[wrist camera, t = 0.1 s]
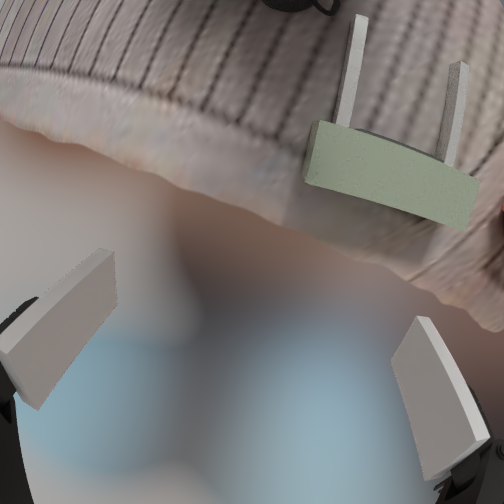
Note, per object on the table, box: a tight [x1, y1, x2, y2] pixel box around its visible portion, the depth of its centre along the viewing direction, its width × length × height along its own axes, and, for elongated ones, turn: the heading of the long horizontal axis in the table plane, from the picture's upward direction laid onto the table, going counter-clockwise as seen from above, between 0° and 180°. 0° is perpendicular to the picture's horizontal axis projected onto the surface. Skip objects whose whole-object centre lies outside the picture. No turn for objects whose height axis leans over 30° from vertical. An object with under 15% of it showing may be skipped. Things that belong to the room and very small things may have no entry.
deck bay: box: [301, 14, 480, 232], centre depth 28 cm, size 23×22×7 cm
